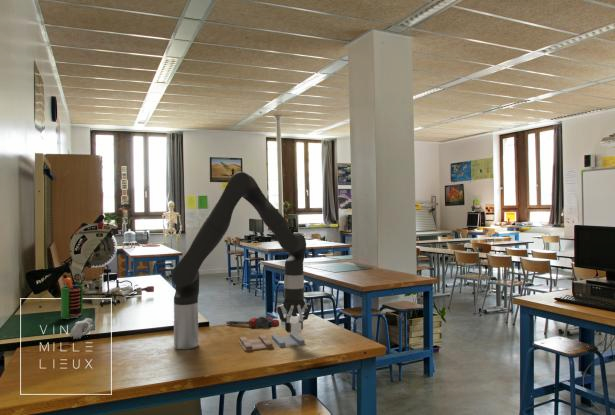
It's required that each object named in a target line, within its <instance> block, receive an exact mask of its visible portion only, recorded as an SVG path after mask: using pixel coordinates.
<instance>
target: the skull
mask: <svg viewBox="0 0 615 415" xmlns="http://www.w3.org/2000/svg"><path fill="white" fill-rule="evenodd" d="M93 323H94V321H93V318H90V317H85V318H84V319H83V320H80V321H79V320H78V321H76V322H74V326H73V327H71V330H70V333H69V336H70V337H71V338H72V336H73V339H72V340H75V339H76V340H78V339H79V340H81V338H82V337H83V336H84V337H85V335H86V334H87V333H89V332H90V333H91V331H92V324H93Z"/></svg>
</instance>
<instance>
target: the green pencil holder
mask: <svg viewBox="0 0 615 415" xmlns="http://www.w3.org/2000/svg"><path fill="white" fill-rule="evenodd" d="M63 283H67V285H64V286H61V287H60V318H61V317H63V318H69V317H75V316H80V315H81V314H82V315H83V308H84V307H83V304H84V303H83V298H84V295H83V294H84V293H83V291H84V290H83V288H84V287H83V285H82V284H73V280H72V278H71V277H65V278H63ZM69 314H75V315H69Z"/></svg>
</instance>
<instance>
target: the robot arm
mask: <svg viewBox="0 0 615 415" xmlns="http://www.w3.org/2000/svg"><path fill="white" fill-rule="evenodd" d="M241 198H243V199H245V201H246V202H248V203H249V204H250V205H251V206H252V207H253V208H254V209H255V210H256V211H257V213H258V215H259V217H260V219H261V220H262V222H263V223H264V224H265V226H266V227H267V228H268V229H269V230H270V231H271V232H272V234H274V236H275V237H274V238H275V239H276V241H277V242H278V244H279V245H280V247H281V249H283V250H284V251H285V252H287V253H288V258H287V259H286V260H284V261H285V262H284V277H283V278H284V279H283V302H282V304H279V305H276V306H275V308H276V311H277V315H278V317H279V321H280V322H281V321H282V322H285V329H284V330H285V331H286V333H287V334H290V323H289V321H290V317H291V315H292V316H293V314H296V316H297V318H298V319H297V320H298V321H299V322H301V331H303V329H304V321H307V320H308V319H309V316H310V313H311V309H312V304H311V303H309V302H305V278H304V260H305V257H306V256H305V255H306V250H307V241H306V238H305V236H304V235H303V234H301V233H299V232H296V233H293V232H292V231H291V229H290V228H289V227H290V224H289V222H288V220H287V219H286V218H285V217H284V215H283V214H281V213H280V212H279V210H278V209H277V208H276V207H275V206H274V205H273V204H272V203H271V202H270V201H269V200H268V198H267V197H266V196H265V194H264V193H263V191H262V189H261V188H260V186H259V184H258V183H257V181H256V180H255V178H254V177H253V176H252V175H250V174H248V173H246V172H244V171H238V172H235V173H234V174H232V175H231V177H230V178H229V180H228V182H227V183H226V186H225V187H224V190H223V192H222V194H221V195H220V197H219V199H218V201H217V202H216V204H215V205H214V207H213V209H211V211H210V213H209V215H208V216H207V218H206V219H205V221H204V222H203V224H202V225H201V227H200V228H199V230H198V232H197V233H196V235H195V237H194V239H193V241H192V243H191V245H190V247H189V248H188V250H187V251H186V253H185V254H184V256H182V258H181V259H180V260H179V261H178V263H177V264H176V265H175V267H173V270H172V272H171V280H172V283H173V284H174V285H175V292H174V293H175V294H174V296H173V312H174V313H173V345H174V346H173V347H174V350H189V349H194V348H196V347H199V294H200V268H201V267H202V264H203V263H204V261H205V260H206V259H207V258H208V256H209V255H210V254H211V253H212V252H213V251H214V249H215V248H216V247H217V246H218V244H220V242H221V241H222V239H223V238H224V236H225V234H226V232H227V231H228V230H229V227H230V224H231V220H232V215H233V212H234V210H235V208H236V206H237V205H238V203H239V202H240V200H241ZM284 309H285V315H286V316H285V318H284V316H283V315H284V313H283V311H284ZM303 309H304V312H302V310H303Z"/></svg>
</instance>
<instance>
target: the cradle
mask: <svg viewBox="0 0 615 415" xmlns="http://www.w3.org/2000/svg"><path fill="white" fill-rule="evenodd" d="M238 344H239V345H240V346H241V348H242V349H243V351H244V352H245V353H247V352H253V351H254V352H255V351H262V350H270V349H274V346H273V342H272V341H271V340H270V339H268V337H267V336H266V335H265V334H259V335H258V338H250V339H248V338H247V337H246V336H240V337H239V340H238Z"/></svg>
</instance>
